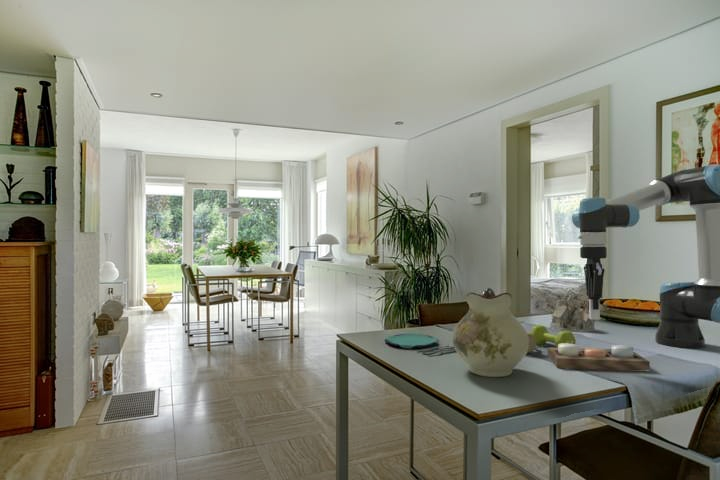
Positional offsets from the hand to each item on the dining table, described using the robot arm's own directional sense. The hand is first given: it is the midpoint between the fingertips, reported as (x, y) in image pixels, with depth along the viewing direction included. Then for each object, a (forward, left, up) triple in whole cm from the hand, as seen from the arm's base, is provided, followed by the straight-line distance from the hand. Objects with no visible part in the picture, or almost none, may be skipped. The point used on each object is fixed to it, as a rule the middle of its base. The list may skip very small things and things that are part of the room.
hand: (594, 319), depth 142 cm
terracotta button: (0, 0, -14) cm, 14 cm away
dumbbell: (+9, -20, -15) cm, 26 cm away
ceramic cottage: (-7, -57, -15) cm, 59 cm away
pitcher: (+34, +13, -14) cm, 39 cm away
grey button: (-8, 0, -13) cm, 15 cm away
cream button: (+8, 0, -13) cm, 15 cm away
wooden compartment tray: (0, 0, -14) cm, 14 cm away
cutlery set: (+58, -16, -15) cm, 61 cm away
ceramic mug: (+20, -14, -15) cm, 28 cm away
